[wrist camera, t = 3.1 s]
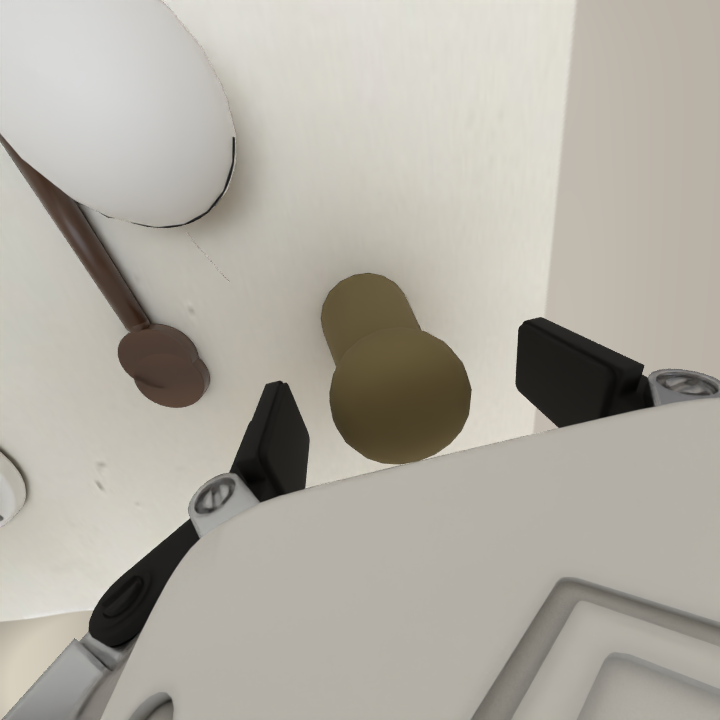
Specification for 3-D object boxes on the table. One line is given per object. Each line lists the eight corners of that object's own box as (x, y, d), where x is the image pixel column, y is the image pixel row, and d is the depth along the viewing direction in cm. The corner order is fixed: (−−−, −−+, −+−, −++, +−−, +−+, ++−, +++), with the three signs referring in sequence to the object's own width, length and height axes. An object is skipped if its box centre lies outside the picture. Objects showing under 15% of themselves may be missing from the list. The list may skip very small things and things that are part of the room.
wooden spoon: (220, 391, 20) (214, 401, 19) (164, 405, 20) (154, 416, 19) (56, 100, 12) (31, 89, 11) (-35, 123, 12) (-68, 114, 11)
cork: (337, 258, 17) (356, 310, 7) (424, 291, 18) (539, 372, 8) (309, 345, 19) (294, 476, 9) (388, 368, 21) (446, 501, 11)
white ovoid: (46, 55, 12) (-304, -152, 5) (217, 19, 12) (84, -228, 5) (167, 287, 16) (62, 331, 10) (289, 260, 16) (266, 285, 10)
